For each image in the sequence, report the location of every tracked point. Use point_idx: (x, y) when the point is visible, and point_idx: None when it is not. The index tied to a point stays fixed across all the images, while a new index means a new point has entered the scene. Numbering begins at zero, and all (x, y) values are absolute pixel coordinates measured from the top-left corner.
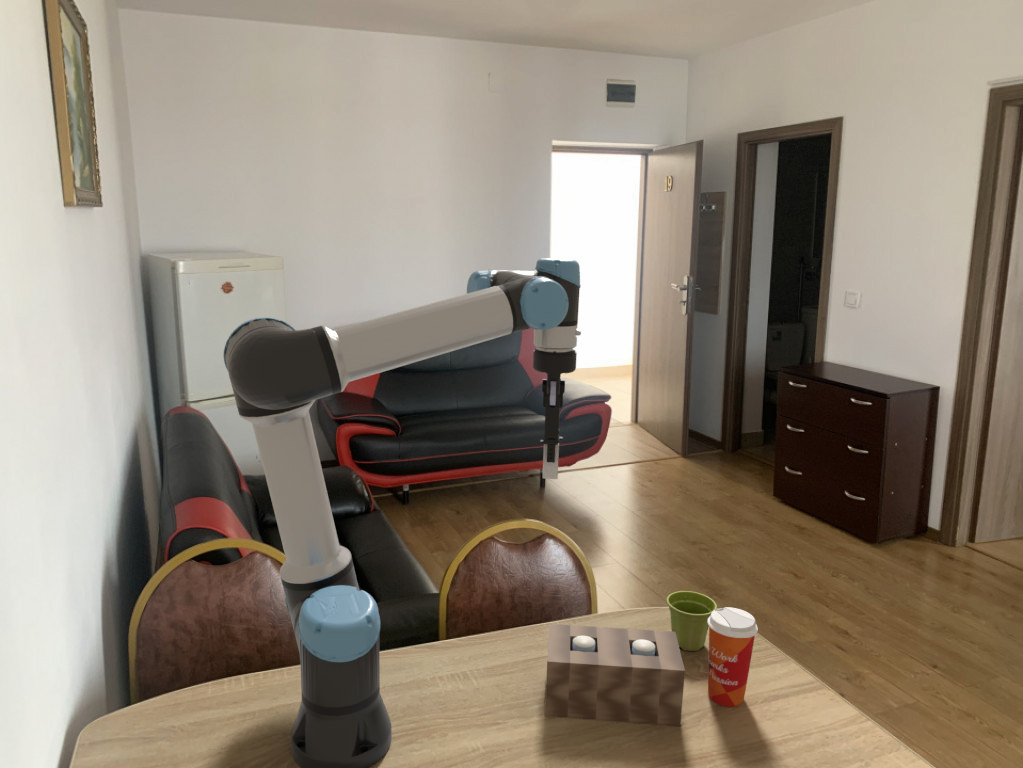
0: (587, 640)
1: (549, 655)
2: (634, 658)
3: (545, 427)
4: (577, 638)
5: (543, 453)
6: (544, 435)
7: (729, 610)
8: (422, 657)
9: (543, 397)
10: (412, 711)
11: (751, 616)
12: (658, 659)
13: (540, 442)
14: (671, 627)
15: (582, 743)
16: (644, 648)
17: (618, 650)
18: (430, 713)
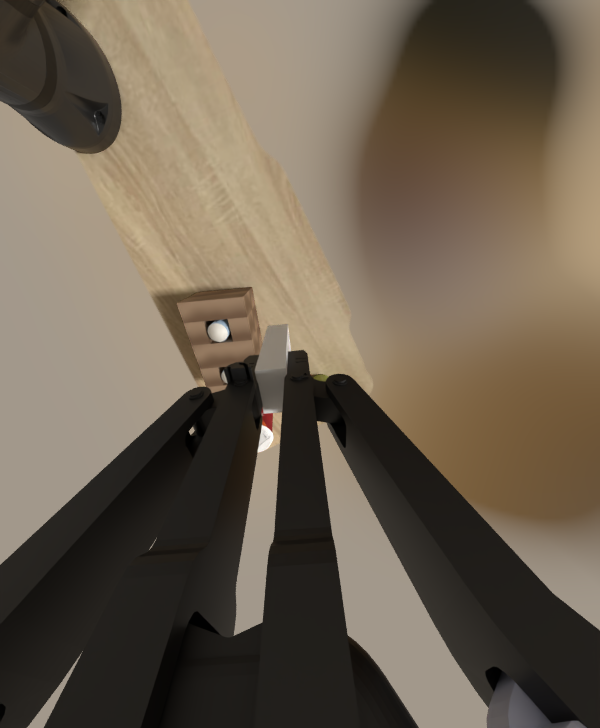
0: (220, 335)
1: (186, 304)
2: (212, 370)
3: (128, 449)
4: (220, 326)
5: (260, 353)
6: (297, 377)
7: (265, 440)
8: (242, 140)
9: (52, 716)
10: (151, 161)
11: (260, 451)
12: (218, 385)
13: (225, 368)
14: (321, 379)
15: (180, 321)
16: (225, 377)
17: (219, 358)
18: (157, 183)
